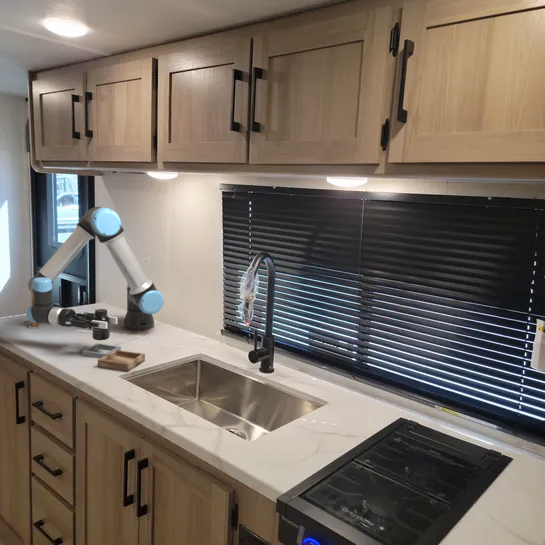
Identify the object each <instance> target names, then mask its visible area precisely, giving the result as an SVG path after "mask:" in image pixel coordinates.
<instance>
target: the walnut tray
mask: <svg viewBox="0 0 545 545" xmlns="http://www.w3.org/2000/svg"><path fill="white" fill-rule="evenodd" d="M145 362H146V353H141V352H140V353H139V352H133V351H127V350H121V351H120V350H115V351H113V352H111V353H109V354H108V355H106V356H104V357H102V358H98V359H97V368H98V367H100V368H99V369H105V368H106V370H113V371H117V372H118V371H120V372H125V373H129V372H130V371H131V370H133V369H135V368H137V367H139V366H140V365H142V364H143V363H145Z"/></svg>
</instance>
